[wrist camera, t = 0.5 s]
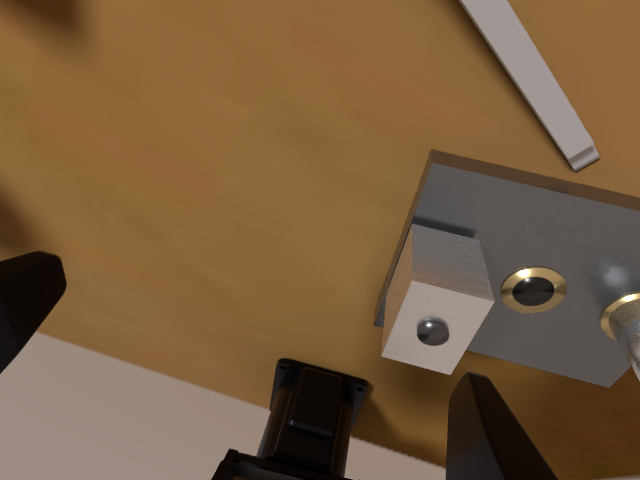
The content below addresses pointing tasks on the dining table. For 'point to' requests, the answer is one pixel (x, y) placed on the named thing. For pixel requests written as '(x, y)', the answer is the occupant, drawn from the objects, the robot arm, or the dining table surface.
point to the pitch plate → (541, 264)
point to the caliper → (532, 78)
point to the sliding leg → (435, 299)
